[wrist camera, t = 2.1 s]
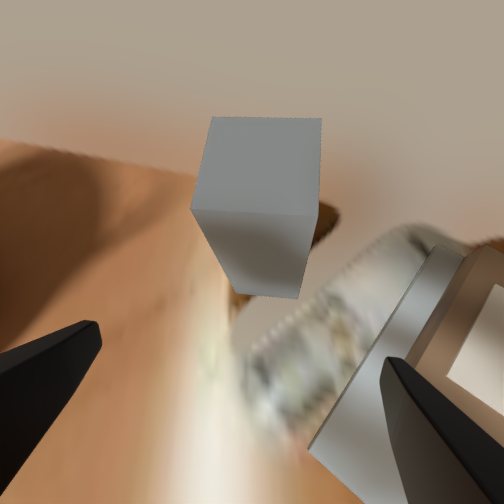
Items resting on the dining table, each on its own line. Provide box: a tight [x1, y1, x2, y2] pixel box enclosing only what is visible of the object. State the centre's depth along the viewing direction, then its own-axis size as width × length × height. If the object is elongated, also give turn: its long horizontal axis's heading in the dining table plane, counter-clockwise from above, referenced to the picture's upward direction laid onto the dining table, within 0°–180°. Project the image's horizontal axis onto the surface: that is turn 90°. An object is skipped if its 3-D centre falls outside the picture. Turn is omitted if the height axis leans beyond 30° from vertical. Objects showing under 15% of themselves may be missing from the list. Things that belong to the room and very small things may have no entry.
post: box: [190, 117, 322, 299], centre depth 18 cm, size 5×5×13 cm
